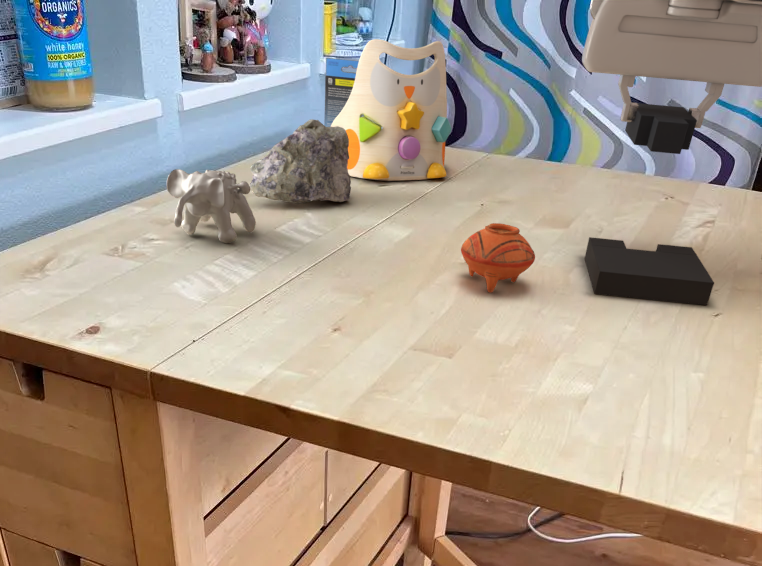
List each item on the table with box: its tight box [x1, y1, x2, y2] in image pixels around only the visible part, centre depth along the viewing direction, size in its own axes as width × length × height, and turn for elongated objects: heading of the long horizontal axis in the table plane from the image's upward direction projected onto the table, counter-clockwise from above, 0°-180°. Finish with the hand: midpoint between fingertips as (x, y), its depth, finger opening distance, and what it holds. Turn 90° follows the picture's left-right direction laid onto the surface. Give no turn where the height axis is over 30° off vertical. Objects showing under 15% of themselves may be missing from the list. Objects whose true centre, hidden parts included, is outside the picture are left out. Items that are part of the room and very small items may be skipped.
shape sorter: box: [331, 38, 452, 182], centre depth 119 cm, size 20×10×18 cm, turn 111°
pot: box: [460, 222, 536, 294], centre depth 87 cm, size 8×8×7 cm
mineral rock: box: [249, 118, 352, 204], centre depth 107 cm, size 13×11×10 cm
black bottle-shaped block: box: [624, 102, 697, 155], centre depth 91 cm, size 6×11×3 cm, turn 172°
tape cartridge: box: [323, 57, 365, 127], centre depth 138 cm, size 9×4×12 cm, turn 74°
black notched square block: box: [584, 237, 715, 306], centre depth 91 cm, size 12×12×2 cm
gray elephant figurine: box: [166, 168, 257, 244], centre depth 92 cm, size 9×12×8 cm
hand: (660, 124), depth 92 cm, fingers closed on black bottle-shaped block, 6 cm apart
